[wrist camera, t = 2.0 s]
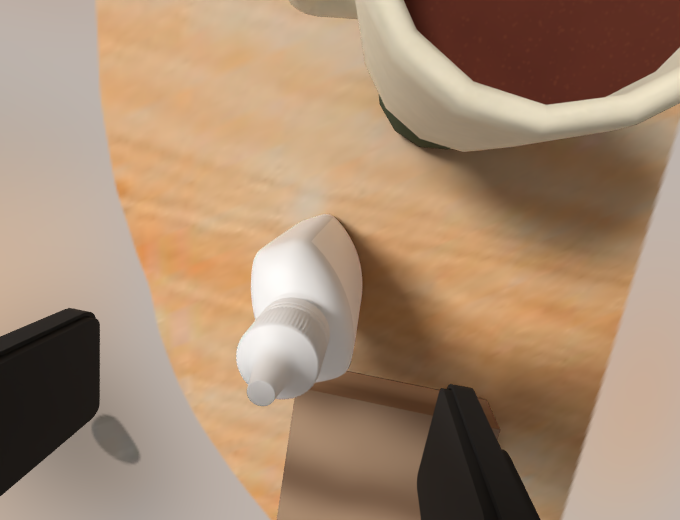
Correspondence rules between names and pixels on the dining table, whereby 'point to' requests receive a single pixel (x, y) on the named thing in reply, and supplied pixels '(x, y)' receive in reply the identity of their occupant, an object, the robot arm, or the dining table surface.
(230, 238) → the dining table surface
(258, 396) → the eye dropper bottle
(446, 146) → the character mug
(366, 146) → the dining table surface
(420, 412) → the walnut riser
